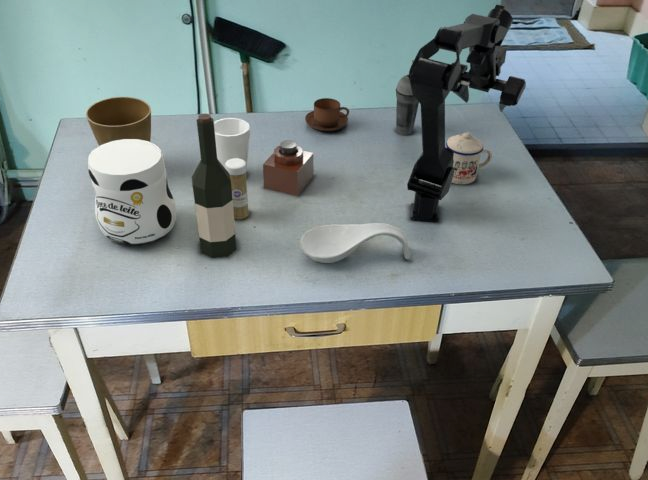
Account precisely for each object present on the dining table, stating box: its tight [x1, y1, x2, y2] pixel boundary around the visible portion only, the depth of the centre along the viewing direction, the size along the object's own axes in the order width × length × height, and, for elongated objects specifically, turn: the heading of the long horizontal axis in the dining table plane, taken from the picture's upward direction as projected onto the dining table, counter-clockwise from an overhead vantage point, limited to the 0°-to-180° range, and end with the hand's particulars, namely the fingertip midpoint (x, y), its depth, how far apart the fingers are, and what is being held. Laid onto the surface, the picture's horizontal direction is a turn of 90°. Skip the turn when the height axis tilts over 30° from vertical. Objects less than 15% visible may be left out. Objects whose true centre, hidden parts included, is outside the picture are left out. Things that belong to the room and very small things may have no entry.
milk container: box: [87, 139, 177, 246], centre depth 145 cm, size 17×17×18 cm
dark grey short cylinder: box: [279, 139, 298, 156], centre depth 160 cm, size 4×4×2 cm
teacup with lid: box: [445, 131, 493, 185], centre depth 167 cm, size 12×9×12 cm
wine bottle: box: [191, 113, 238, 259], centre depth 136 cm, size 8×8×30 cm
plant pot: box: [85, 96, 152, 147], centre depth 163 cm, size 15×15×16 cm
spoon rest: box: [299, 222, 411, 264], centre depth 143 cm, size 24×12×7 cm, turn 93°
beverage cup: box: [395, 59, 420, 136], centre depth 180 cm, size 7×7×20 cm
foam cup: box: [214, 117, 251, 173], centre depth 164 cm, size 10×9×13 cm
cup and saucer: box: [304, 97, 350, 132], centre depth 187 cm, size 12×12×6 cm
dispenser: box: [262, 145, 314, 197], centre depth 164 cm, size 9×10×8 cm
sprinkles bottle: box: [225, 158, 250, 220], centre depth 151 cm, size 5×5×14 cm
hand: (484, 105), depth 167 cm, fingers open, 9 cm apart
